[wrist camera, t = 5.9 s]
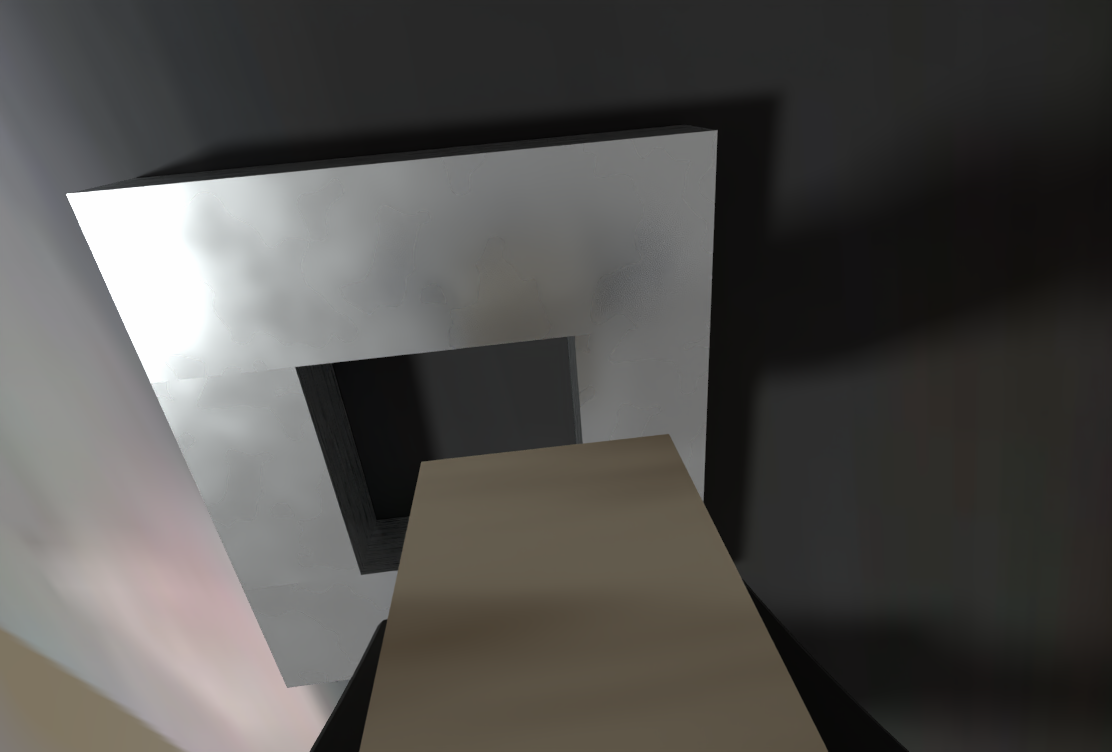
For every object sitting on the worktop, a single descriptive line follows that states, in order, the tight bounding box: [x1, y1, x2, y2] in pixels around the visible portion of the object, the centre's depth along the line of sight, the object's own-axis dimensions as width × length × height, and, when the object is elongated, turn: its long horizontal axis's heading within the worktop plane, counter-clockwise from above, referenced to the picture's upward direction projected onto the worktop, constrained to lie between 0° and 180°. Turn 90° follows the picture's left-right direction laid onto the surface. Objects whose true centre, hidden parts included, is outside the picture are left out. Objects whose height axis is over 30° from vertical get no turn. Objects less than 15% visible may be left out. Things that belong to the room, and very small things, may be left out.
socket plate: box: [67, 125, 718, 688], centre depth 17 cm, size 16×14×2 cm
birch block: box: [359, 434, 828, 752], centre depth 8 cm, size 4×4×7 cm
